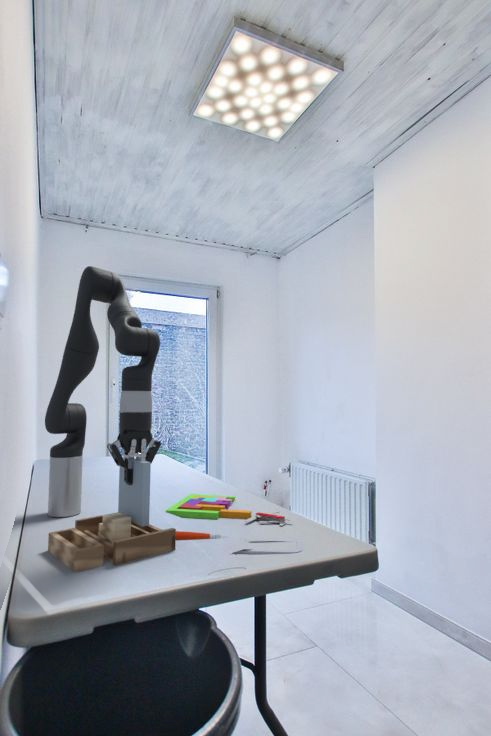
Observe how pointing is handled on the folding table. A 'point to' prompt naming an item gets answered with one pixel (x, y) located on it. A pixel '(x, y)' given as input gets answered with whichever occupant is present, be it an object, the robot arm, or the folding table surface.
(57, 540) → the stand
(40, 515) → the folding table surface
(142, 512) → the panel
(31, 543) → the folding table surface
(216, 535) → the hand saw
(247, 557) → the folding table surface
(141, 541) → the rack
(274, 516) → the swiss army knife
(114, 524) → the offcut short
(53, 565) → the folding table surface
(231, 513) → the toy blocks
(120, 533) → the offcut mid
